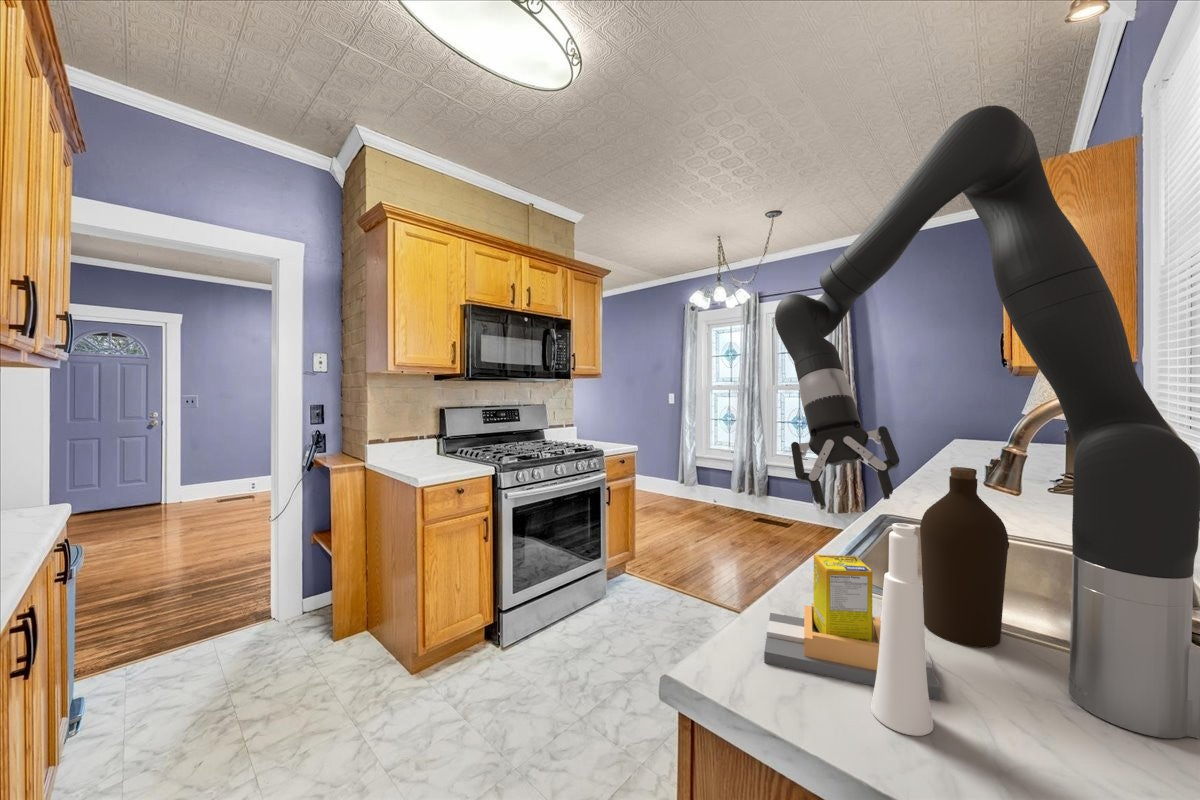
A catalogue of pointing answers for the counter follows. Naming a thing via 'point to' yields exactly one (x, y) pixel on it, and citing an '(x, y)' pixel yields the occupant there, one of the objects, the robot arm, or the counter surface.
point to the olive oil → (963, 565)
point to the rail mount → (828, 651)
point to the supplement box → (842, 597)
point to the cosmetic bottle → (902, 642)
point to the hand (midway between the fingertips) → (854, 502)
